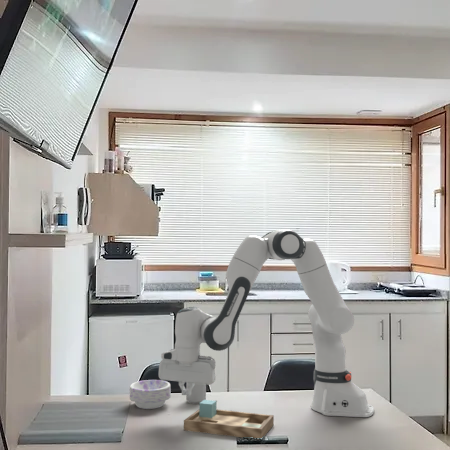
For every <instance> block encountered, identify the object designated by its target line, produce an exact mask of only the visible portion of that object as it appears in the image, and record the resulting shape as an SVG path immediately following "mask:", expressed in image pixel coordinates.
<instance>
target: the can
mask: <svg viewBox="0 0 450 450" xmlns="http://www.w3.org/2000/svg"><path fill="white" fill-rule="evenodd" d="M185 383H186V387H185V389H189V387H190V386H189V383H188V382H185ZM185 396H186V399H185V400H186V401H187V402H188V403H189V404H193V405H195V404H196V405H198V404H199V403H200V402H202V401H203V400H207V384H197V383H195V385H194V387H193V388H192V390H191V395H190V396H188V395H185Z"/></svg>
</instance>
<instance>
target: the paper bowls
mask: <svg viewBox="0 0 450 450" xmlns="http://www.w3.org/2000/svg"><path fill="white" fill-rule="evenodd" d="M171 390H172V389H171V383H170V382H168V381H167V380H161V379H148V380H147V379H145V380H138V381H135V382H132V383H131V384H130V385H129V400H130V401H132V402H134V404H135V406H136V407H137V408H139V409H144V410H154V409H159V408H161V407H163V406H164V405H165V403H166V401H167V400H169V399H171V396H172V395H171V394H172V393H171V392H172V391H171Z"/></svg>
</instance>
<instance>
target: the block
mask: <svg viewBox="0 0 450 450" xmlns="http://www.w3.org/2000/svg"><path fill="white" fill-rule="evenodd" d="M216 409H217V400H213V399H211V400H210V399H206V400H203V401H202V402H200V403H199V406H198V410H199V417H207V418H212V417H214V416H215V415H216Z"/></svg>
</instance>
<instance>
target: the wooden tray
mask: <svg viewBox="0 0 450 450" xmlns="http://www.w3.org/2000/svg"><path fill="white" fill-rule="evenodd" d="M274 417H275V416H274V415H273V414H263V413H255V412H254V413H253V412H245V411H236V410H235V411H234V410H227V409H217V408H216V415H215V416H214V417H212V418H207V417H199V409H198V410H196V411H194V412H193V413H192V414H190V415H189V416H188V417H186V418H185V419H183V430H184V431H186V432H188V431H189V432H193V433H194V432H195V433H203V434H212V435H219V436H226V437H228V436H229V437H237V438H243V437H253V438H262V437H263V436H264V437H265V436H266V435H267V434H268V432H269V431H270V430H271V429H272V428H273V427H274V426H275V425H274V421H275V419H274ZM264 437H263V438H264Z"/></svg>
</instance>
